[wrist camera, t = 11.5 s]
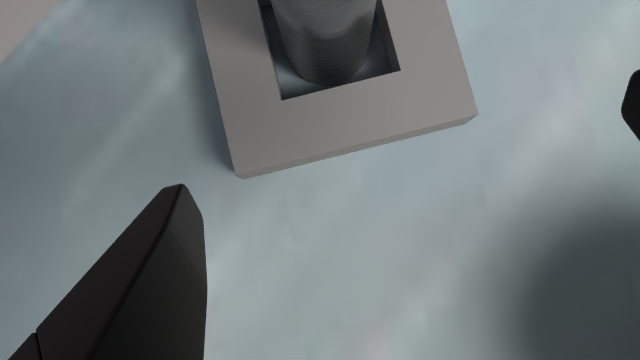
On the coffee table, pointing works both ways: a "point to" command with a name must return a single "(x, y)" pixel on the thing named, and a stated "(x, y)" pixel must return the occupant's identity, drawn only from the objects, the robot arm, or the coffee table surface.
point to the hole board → (335, 103)
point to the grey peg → (325, 37)
